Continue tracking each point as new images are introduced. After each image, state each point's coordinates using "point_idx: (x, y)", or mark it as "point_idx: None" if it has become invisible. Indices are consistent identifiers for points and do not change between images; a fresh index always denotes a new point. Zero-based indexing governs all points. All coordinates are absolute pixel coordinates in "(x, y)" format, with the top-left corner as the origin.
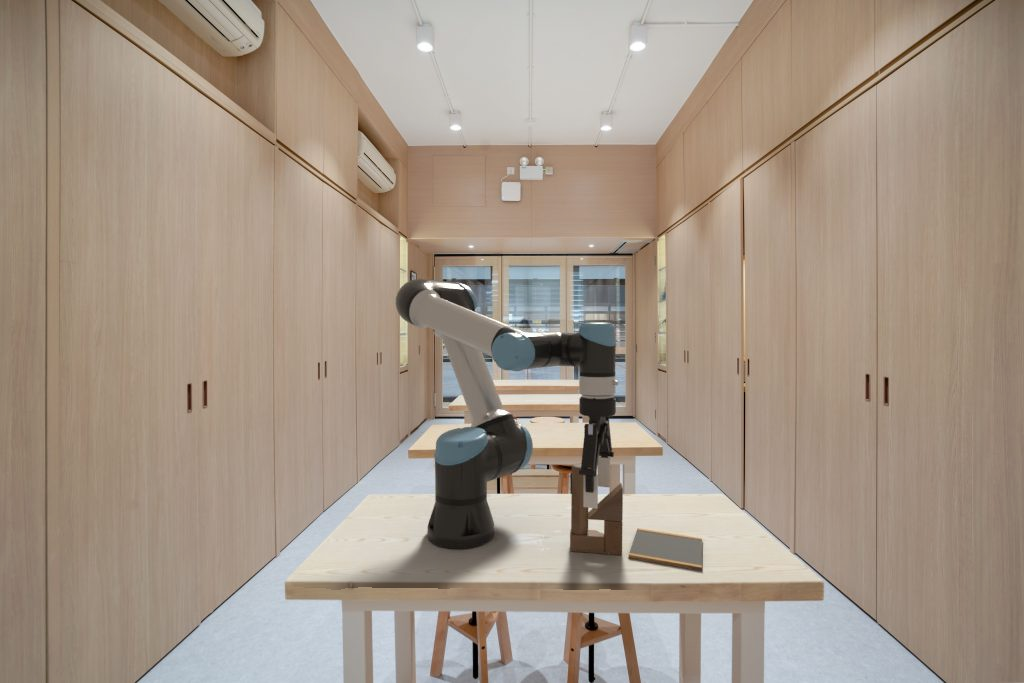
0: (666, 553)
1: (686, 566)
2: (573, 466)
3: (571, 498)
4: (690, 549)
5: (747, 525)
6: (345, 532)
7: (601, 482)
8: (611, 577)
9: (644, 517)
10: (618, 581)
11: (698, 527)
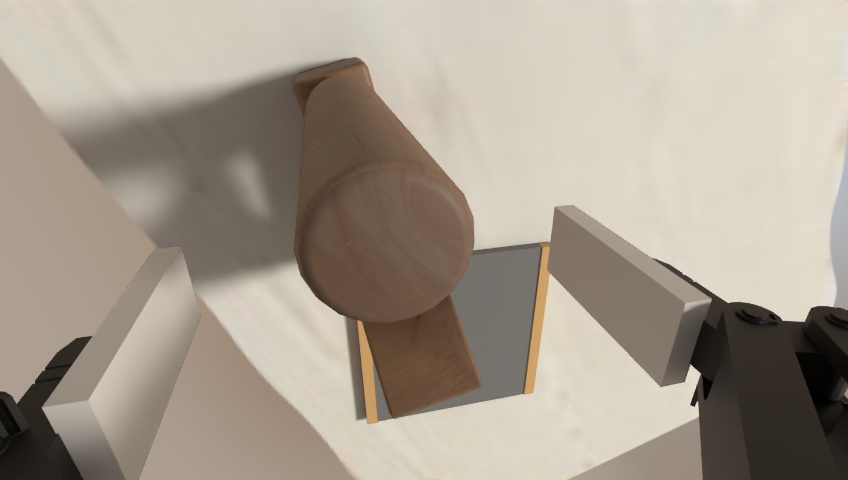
0: None
1: (364, 394)
2: (326, 199)
3: (338, 100)
4: None
5: (641, 436)
6: None
7: (564, 239)
8: (196, 255)
9: (656, 235)
10: None
11: (611, 364)
